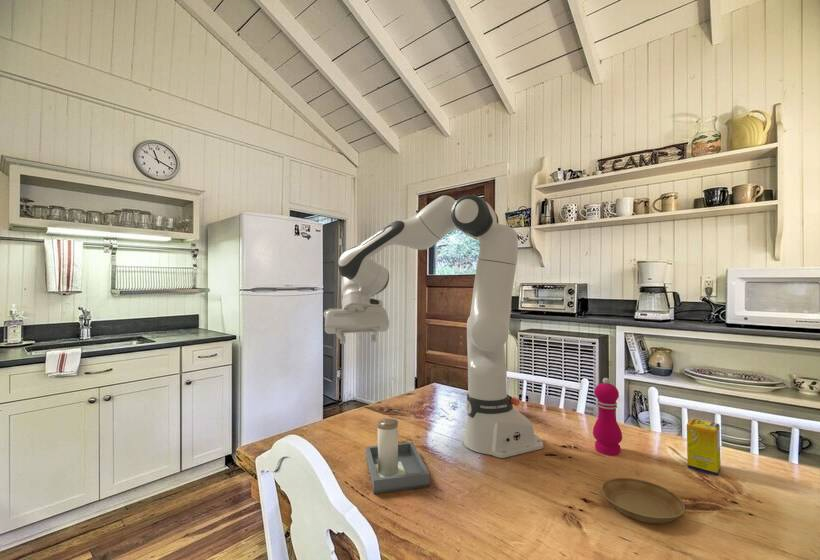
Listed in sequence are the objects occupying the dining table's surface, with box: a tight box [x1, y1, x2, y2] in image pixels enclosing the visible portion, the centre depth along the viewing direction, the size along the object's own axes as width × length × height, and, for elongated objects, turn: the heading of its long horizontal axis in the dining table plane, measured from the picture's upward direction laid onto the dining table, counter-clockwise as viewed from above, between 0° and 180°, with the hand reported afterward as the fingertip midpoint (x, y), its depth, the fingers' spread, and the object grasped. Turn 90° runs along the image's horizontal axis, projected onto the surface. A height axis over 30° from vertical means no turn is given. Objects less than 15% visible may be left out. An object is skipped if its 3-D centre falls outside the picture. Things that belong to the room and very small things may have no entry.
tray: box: [365, 441, 431, 495], centre depth 95 cm, size 13×18×3 cm
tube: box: [376, 417, 399, 476], centre depth 93 cm, size 5×5×12 cm
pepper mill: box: [592, 377, 623, 456], centre depth 104 cm, size 7×7×20 cm
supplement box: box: [686, 418, 722, 477], centre depth 94 cm, size 6×6×11 cm
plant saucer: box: [600, 477, 686, 525], centre depth 78 cm, size 15×15×3 cm
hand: (358, 341), depth 115 cm, fingers open, 8 cm apart
